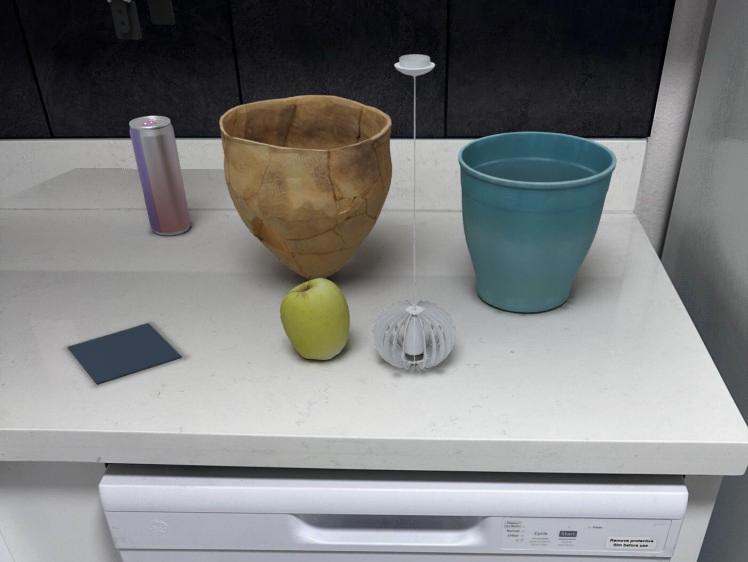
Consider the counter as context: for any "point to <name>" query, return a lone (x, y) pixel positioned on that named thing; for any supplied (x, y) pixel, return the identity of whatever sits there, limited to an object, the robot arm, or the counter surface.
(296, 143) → the bowl
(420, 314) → the pendant light
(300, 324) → the apple
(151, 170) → the beverage can
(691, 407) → the counter surface
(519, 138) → the flower pot
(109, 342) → the mat
